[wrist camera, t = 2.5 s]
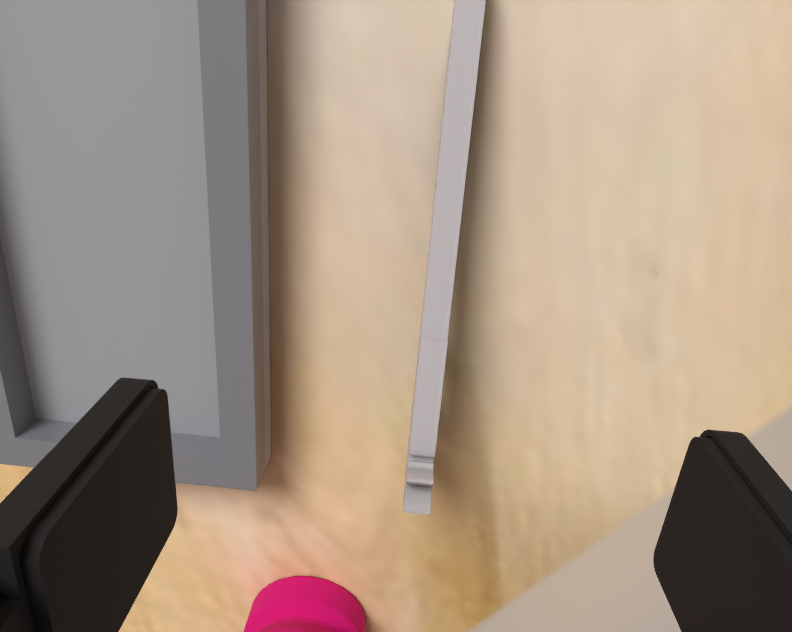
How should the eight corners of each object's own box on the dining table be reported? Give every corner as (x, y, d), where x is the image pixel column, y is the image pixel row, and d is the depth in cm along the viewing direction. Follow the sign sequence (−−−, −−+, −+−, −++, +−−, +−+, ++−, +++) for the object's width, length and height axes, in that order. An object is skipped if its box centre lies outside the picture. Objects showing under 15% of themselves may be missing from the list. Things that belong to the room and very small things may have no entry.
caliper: (431, 443, 28) (428, 545, 23) (408, 441, 28) (399, 542, 23) (491, -69, 20) (512, -115, 14) (459, -72, 20) (466, -118, 14)
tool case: (263, -300, 18) (237, -352, 15) (271, 455, 29) (256, 490, 26) (-137, -327, 18) (-220, -381, 16) (23, 429, 29) (-12, 462, 27)
